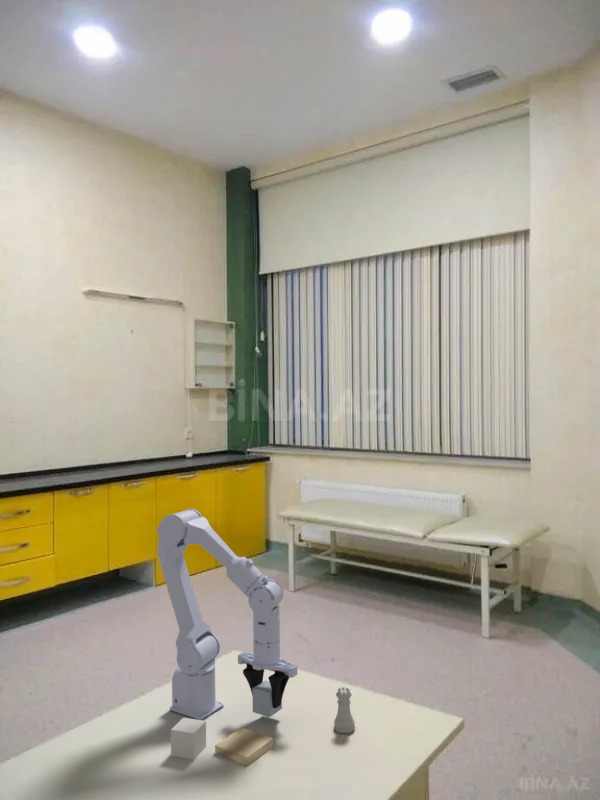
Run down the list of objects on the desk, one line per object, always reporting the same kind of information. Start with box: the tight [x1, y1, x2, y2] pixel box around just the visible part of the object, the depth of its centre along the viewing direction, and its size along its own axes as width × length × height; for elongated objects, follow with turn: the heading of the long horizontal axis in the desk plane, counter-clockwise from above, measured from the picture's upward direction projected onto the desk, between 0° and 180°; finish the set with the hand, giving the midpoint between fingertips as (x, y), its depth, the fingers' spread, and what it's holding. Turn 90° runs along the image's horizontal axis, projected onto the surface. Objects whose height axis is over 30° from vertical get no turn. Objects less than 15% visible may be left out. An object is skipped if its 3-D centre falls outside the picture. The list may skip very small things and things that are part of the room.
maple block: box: [214, 727, 274, 766], centre depth 118 cm, size 8×8×2 cm
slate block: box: [251, 680, 283, 718], centre depth 130 cm, size 4×4×5 cm
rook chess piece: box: [333, 686, 356, 735], centre depth 125 cm, size 4×4×8 cm
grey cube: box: [170, 717, 207, 761], centre depth 118 cm, size 5×5×5 cm
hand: (267, 703), depth 130 cm, fingers closed on slate block, 4 cm apart
